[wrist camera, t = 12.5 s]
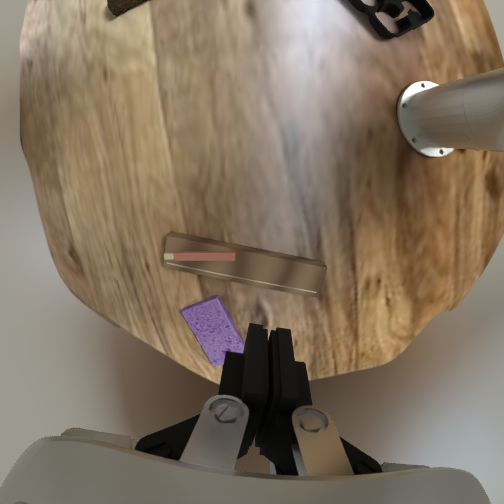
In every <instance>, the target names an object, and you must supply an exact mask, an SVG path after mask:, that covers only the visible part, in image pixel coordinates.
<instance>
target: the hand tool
mask: <svg viewBox="0 0 504 504" xmlns="http://www.w3.org/2000/svg"><path fill="white" fill-rule="evenodd" d="M142 1H144V0H107V2H108V4H107V5H108V7H109V9H110V11H111V12H112V13H113V14H114V15H116V16H119V14H120V13H121V12H126V11H127V10H128V9H129V8H130V7H132V6H134V5H137V4H139V3H141V2H142Z"/></svg>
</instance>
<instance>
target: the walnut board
mask: <svg viewBox="0 0 504 504" xmlns="http://www.w3.org/2000/svg"><path fill="white" fill-rule="evenodd" d="M174 251H235V261H174V260H164V265H163V267H165V268H170V269H175V270H179V271H184V272H189V273H193V274H198V275H203V276H208V277H213V278H218V279H223V280H227V281H232V282H238V283H243V284H248V285H253V286H258V287H263V288H269V289H274V290H279V291H285V292H290V293H295V294H301V295H307V296H312V297H318V296H319V293H320V289H321V286H322V283H323V280H324V276H325V273H326V270H327V267H326V265H325V263H324V262H321V261H317V260H312V259H307V258H302V257H297V256H292V255H287V254H282V253H277V252H272V251H267V250H262V249H257V248H252V247H247V246H242V245H237V244H232V243H227V242H222V241H217V240H212V239H207V238H202V237H197V236H192V235H187V234H182V233H177V232H172V231H171V232H170V233H169V234H168V235H167V238H166V246H165V252H174Z"/></svg>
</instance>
